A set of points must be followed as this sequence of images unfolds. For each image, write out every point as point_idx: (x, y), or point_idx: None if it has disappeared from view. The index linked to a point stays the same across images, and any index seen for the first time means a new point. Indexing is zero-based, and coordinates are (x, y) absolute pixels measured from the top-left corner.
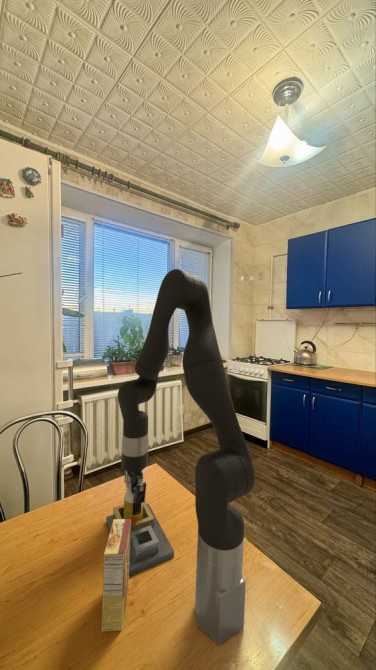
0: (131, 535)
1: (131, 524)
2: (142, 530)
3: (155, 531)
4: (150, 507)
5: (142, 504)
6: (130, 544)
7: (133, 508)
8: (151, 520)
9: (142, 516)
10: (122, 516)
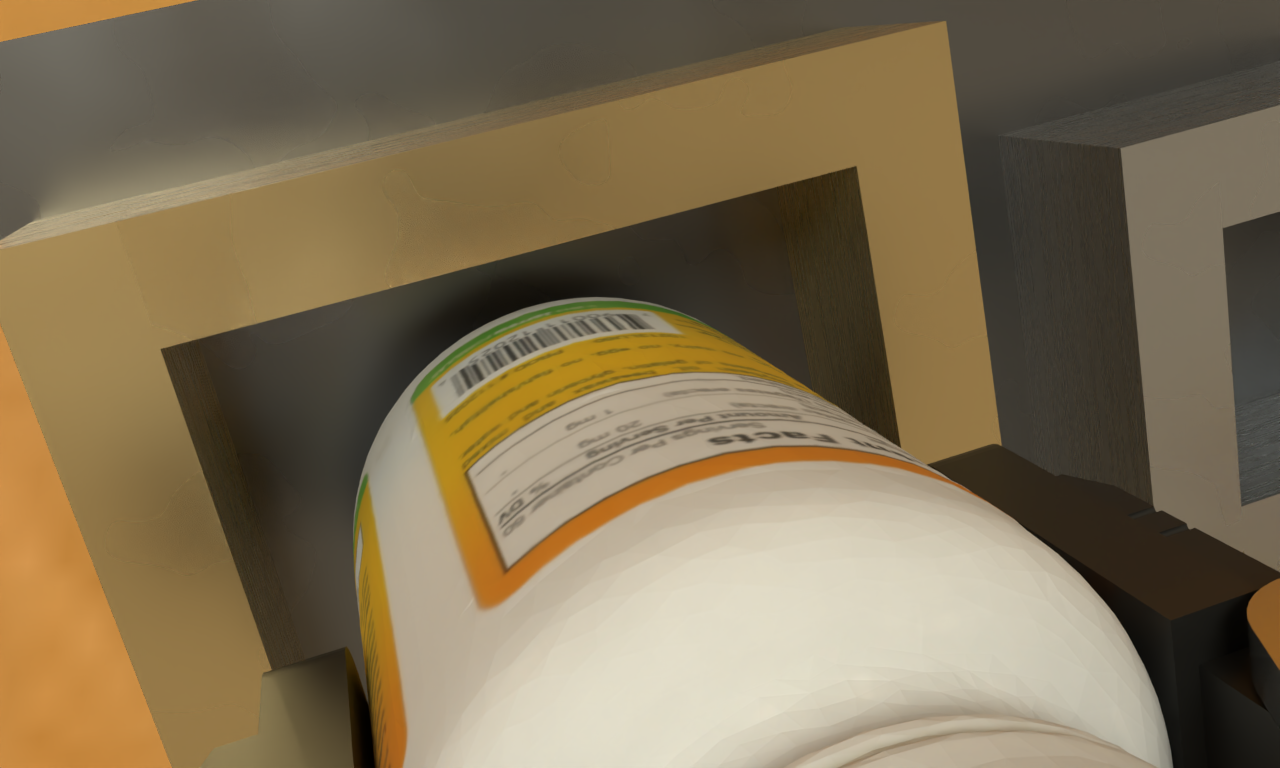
0: None
1: None
2: (1195, 353)
3: (964, 16)
4: (130, 17)
5: (851, 417)
6: None
7: None
8: (946, 104)
9: (675, 312)
10: None
